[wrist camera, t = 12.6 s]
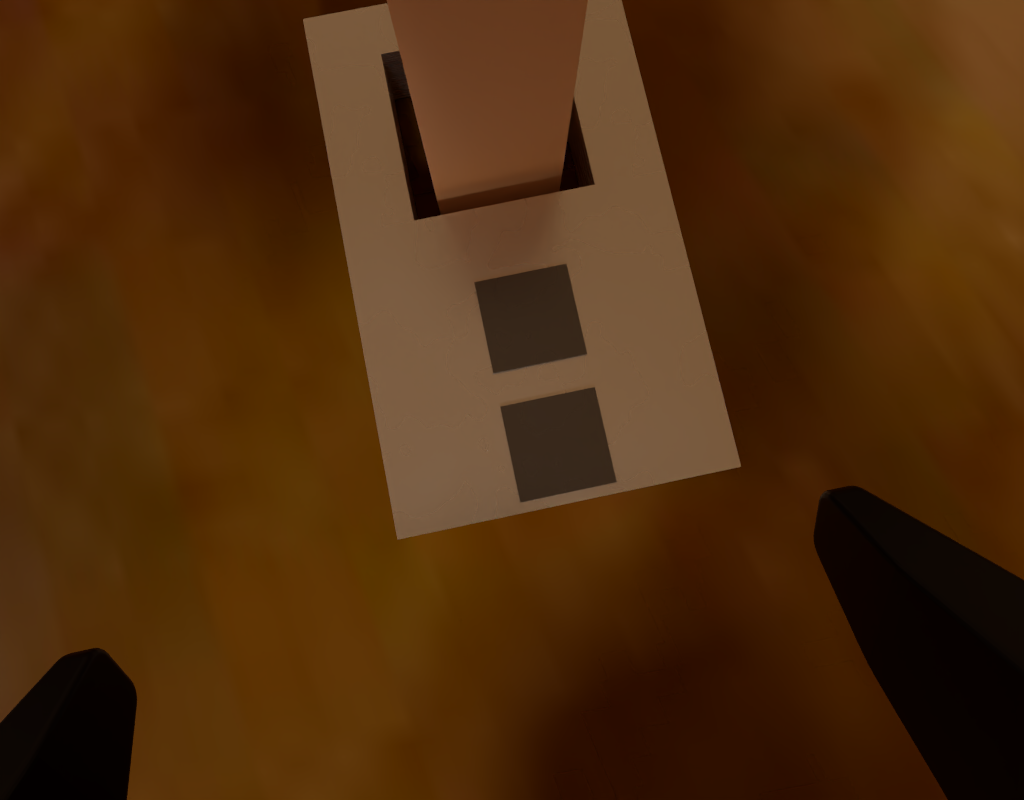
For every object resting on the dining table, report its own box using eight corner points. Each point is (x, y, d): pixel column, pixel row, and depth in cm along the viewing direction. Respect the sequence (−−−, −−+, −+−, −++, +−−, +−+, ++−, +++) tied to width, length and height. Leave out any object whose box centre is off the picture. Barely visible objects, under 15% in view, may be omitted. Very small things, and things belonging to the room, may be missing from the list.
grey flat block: (715, 470, 22) (742, 466, 20) (410, 535, 22) (396, 539, 20) (601, 14, 25) (611, -42, 22) (324, 68, 24) (301, 17, 22)
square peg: (559, 202, 24) (624, -218, 10) (441, 225, 24) (341, -166, 10) (534, 93, 24) (563, -447, 10) (419, 115, 24) (294, -401, 10)
